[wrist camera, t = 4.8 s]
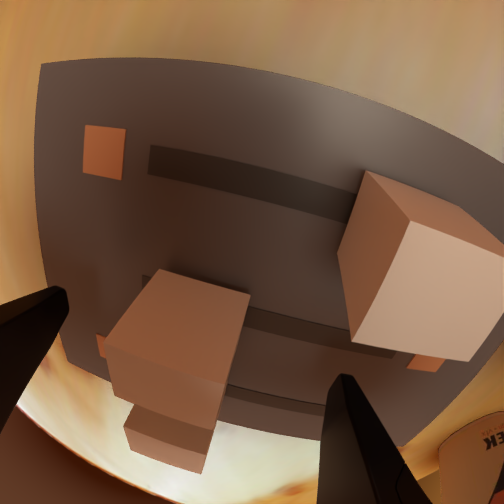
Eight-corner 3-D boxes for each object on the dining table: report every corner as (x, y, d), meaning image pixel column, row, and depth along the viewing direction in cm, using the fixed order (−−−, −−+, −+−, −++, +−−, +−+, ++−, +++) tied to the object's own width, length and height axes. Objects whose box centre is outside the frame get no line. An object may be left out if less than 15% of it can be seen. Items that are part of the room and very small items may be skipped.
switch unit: (530, 189, 9) (571, 214, 6) (397, 408, 16) (403, 447, 13) (89, 65, 10) (40, 63, 7) (92, 329, 17) (67, 362, 14)
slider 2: (227, 381, 11) (206, 455, 8) (220, 409, 13) (201, 474, 9) (157, 359, 12) (123, 426, 8) (158, 390, 13) (130, 450, 10)
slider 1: (250, 294, 9) (224, 384, 6) (236, 347, 10) (212, 430, 7) (159, 268, 9) (102, 342, 6) (157, 323, 10) (114, 395, 7)
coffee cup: (533, 402, 15) (564, 504, 4) (474, 455, 19) (487, 545, 9) (475, 405, 15) (505, 542, 5) (410, 461, 20) (416, 571, 9)
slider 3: (458, 206, 7) (528, 269, 4) (426, 278, 8) (468, 361, 5) (365, 170, 7) (410, 220, 4) (336, 252, 8) (351, 341, 5)
